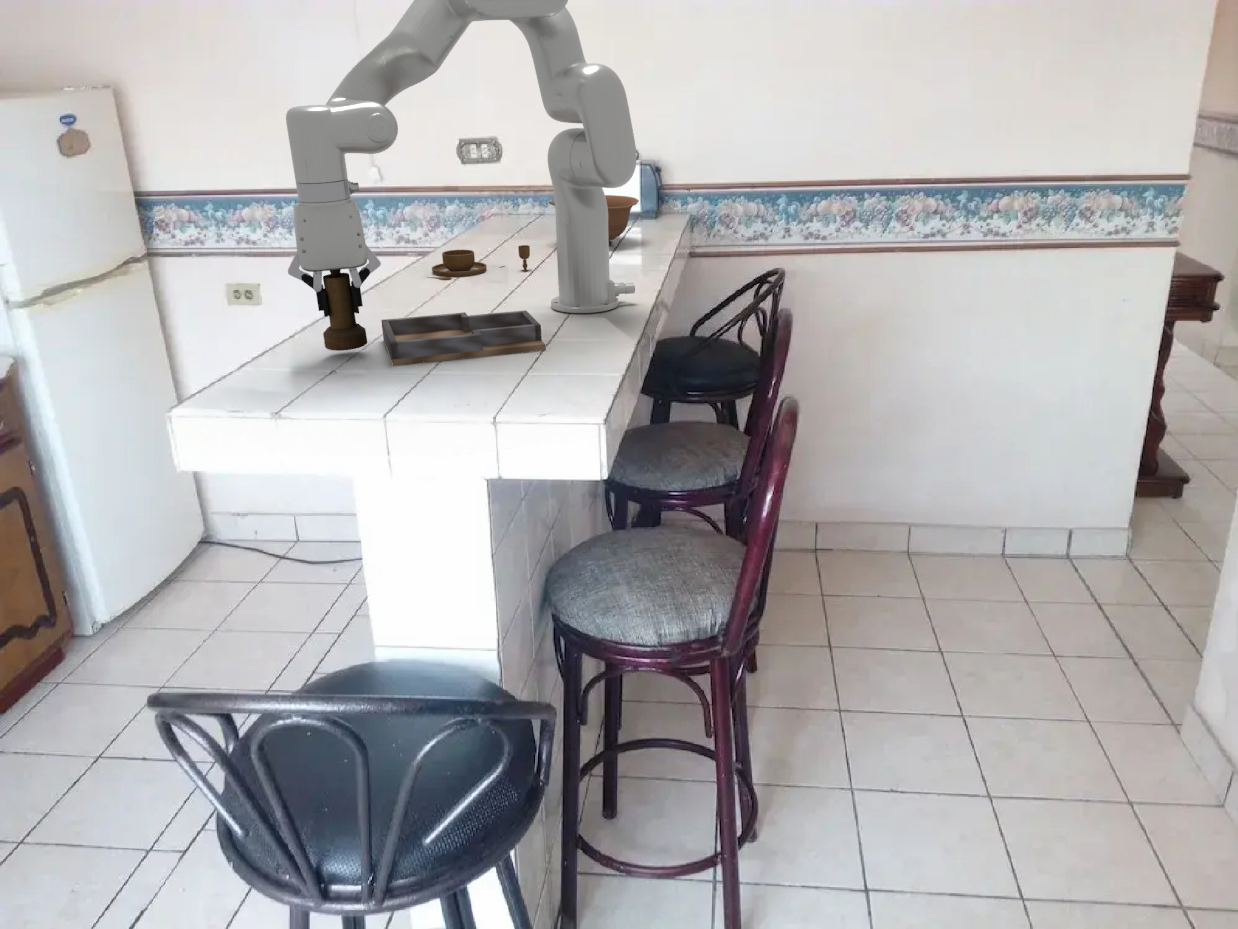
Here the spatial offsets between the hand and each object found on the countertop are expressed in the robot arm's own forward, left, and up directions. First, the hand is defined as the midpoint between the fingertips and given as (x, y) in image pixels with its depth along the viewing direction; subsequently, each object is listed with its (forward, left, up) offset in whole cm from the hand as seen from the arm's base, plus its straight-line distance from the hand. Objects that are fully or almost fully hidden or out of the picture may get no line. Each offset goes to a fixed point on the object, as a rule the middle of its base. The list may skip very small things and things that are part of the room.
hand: (341, 311), depth 158 cm
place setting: (-31, -58, -8) cm, 66 cm away
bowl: (-64, -82, -7) cm, 104 cm away
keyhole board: (-18, 0, -7) cm, 20 cm away
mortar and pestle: (0, 0, -6) cm, 6 cm away
